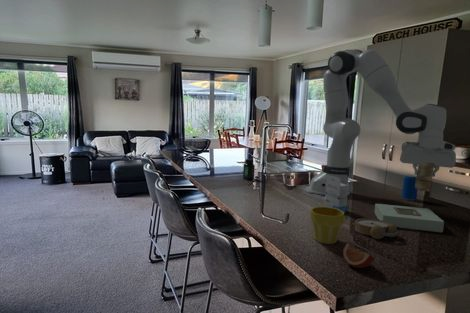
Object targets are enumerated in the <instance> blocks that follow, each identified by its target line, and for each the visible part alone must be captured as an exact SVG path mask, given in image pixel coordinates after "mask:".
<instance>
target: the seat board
mask: <svg viewBox="0 0 470 313" xmlns="http://www.w3.org/2000/svg"><path fill="white" fill-rule="evenodd" d="M374 214H375V216H376V218H377V220H378V219H379V220H381V221H385V222H388V223H389V224H394V225H395V226H396V228H398V227H399V228H401V229H406V230H407V229H410V230H419V231H428V232H436V233H443V232H444V225H445V221H444V220H443V219H441V217H439V215H437V214H435V212H434V211H432V210H431V209H430V208H425V207H415V206H414V207H413V206H405V205H403V206H402V205H393V204H392V205H391V204H384V203H375V205H374Z"/></svg>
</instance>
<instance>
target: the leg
mask: <svg viewBox="0 0 470 313" xmlns="http://www.w3.org/2000/svg"><path fill="white" fill-rule="evenodd" d="M434 169H435V168H434V163H426V162H422V165H418V167H417V170H418V171H420V173H419V175H416V182H415V188H416V189H417V190H418V191H422V192H423V191H424V192H431V188H432V180H433V177H432V176H433V170H434Z"/></svg>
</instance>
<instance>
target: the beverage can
mask: <svg viewBox="0 0 470 313" xmlns="http://www.w3.org/2000/svg"><path fill="white" fill-rule="evenodd" d="M416 176H417V175H415V174H405V176H404V177H403V182H402V190H401V191H402V193H401V198H402V199H404V200H405V201H409V202H410V201H412V202H413V201H416V200H417V198H418V191H419V190H417V189H416V188H415V182H416Z"/></svg>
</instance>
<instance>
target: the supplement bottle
mask: <svg viewBox="0 0 470 313" xmlns="http://www.w3.org/2000/svg"><path fill="white" fill-rule="evenodd" d="M244 162H245V163H244V164H243V166H242V167H243V169H242V170H243V171H242V172H243V175H242V178H243V180H246V181H251V180H255V172H256V171H255V170H256V167H255V166H256V165H255V163H254V159H253V158H252V159H251V158H245V161H244Z"/></svg>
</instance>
